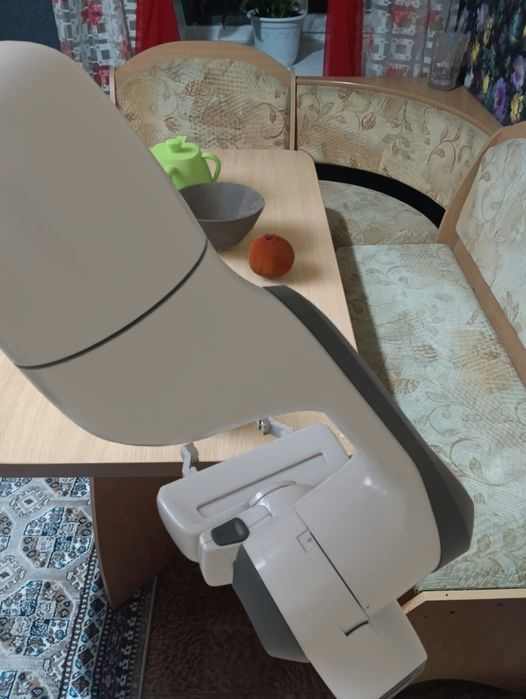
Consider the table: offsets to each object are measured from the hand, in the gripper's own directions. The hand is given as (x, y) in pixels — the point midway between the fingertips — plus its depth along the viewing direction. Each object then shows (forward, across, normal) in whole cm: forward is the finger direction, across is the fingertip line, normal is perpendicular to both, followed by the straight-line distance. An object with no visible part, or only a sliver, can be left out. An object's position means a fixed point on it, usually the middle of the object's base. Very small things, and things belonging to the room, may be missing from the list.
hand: (225, 432), depth 61 cm
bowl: (+55, -25, +9) cm, 61 cm away
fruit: (+40, -29, +9) cm, 50 cm away
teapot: (+79, -24, +9) cm, 83 cm away
